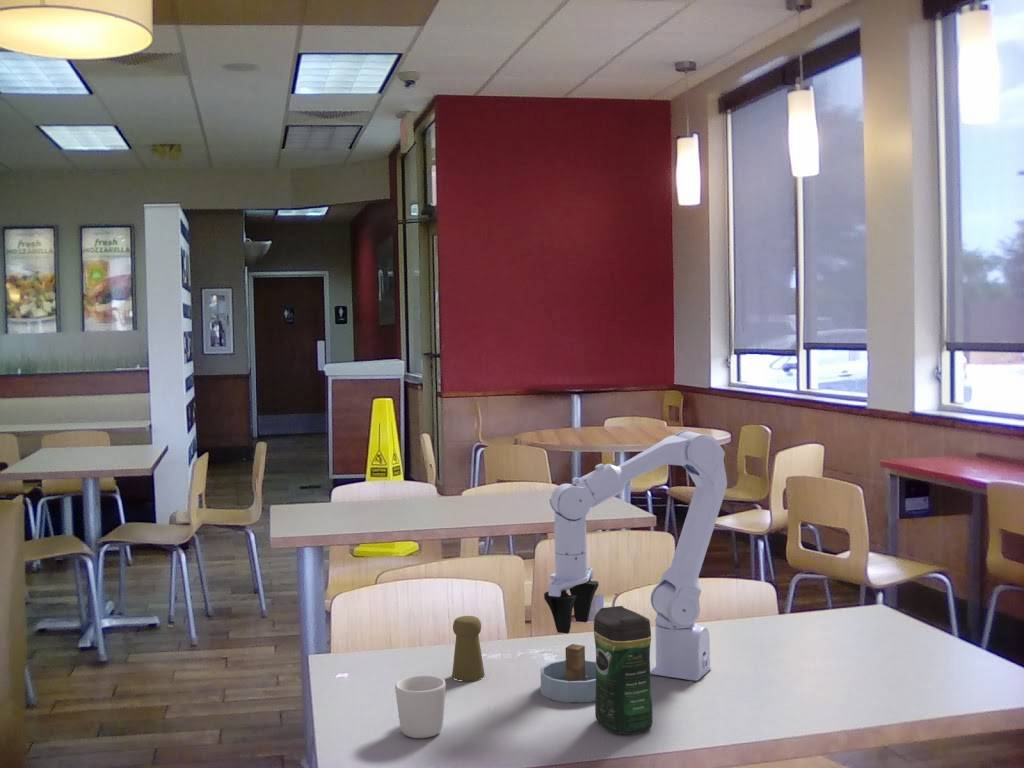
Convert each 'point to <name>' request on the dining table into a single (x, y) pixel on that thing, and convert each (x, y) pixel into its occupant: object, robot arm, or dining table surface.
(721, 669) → the dining table surface
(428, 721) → the cup
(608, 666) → the coffee jar
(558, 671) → the pale blue round tray
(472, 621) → the cork
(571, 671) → the long wooden beam
